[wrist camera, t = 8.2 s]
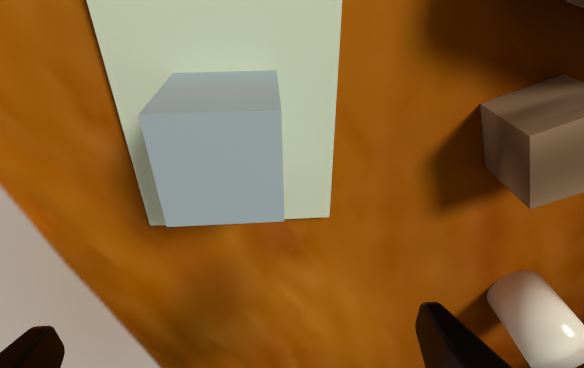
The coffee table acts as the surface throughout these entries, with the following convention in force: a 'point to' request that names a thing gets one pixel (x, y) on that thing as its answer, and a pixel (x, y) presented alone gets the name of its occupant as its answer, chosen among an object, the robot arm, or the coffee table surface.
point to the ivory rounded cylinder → (538, 321)
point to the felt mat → (231, 57)
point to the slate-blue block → (217, 147)
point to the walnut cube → (537, 140)
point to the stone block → (576, 2)
